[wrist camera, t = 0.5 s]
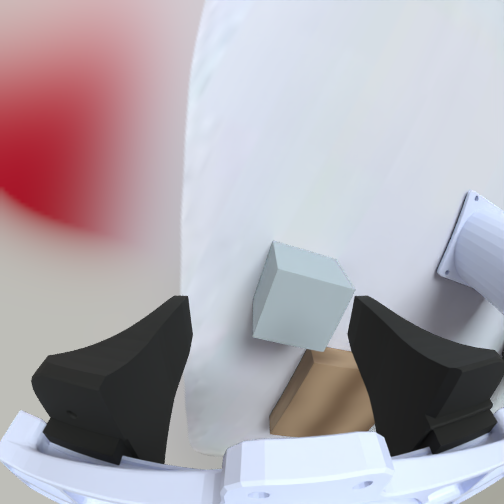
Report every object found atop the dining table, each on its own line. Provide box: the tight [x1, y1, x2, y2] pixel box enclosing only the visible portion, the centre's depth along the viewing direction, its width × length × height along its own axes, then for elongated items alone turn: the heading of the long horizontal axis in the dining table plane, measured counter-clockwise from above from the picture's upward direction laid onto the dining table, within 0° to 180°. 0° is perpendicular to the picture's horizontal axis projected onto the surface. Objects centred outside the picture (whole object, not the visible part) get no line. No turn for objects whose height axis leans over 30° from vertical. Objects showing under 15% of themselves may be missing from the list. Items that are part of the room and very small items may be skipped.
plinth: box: [269, 347, 375, 437], centre depth 25 cm, size 11×11×2 cm
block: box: [253, 241, 355, 352], centre depth 20 cm, size 5×5×5 cm
